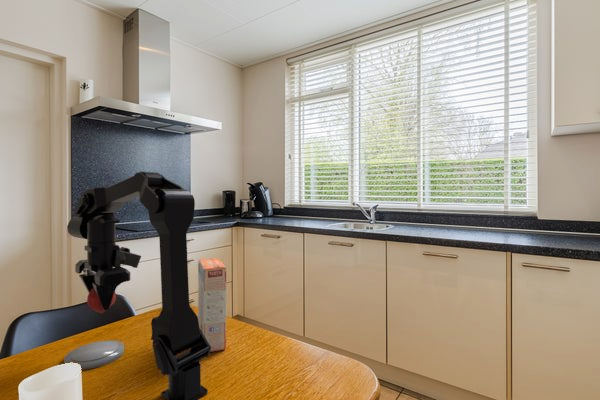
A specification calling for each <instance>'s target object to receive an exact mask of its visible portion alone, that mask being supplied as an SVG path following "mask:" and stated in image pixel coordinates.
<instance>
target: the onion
mask: <svg viewBox="0 0 600 400" xmlns="http://www.w3.org/2000/svg"><path fill="white" fill-rule="evenodd" d="M86 298H87V300H86V303H87V305H88V307H89V308H90V309H91V310H93V311H95V312H96V313H99V314H104V313H105V312H106V311H107V310H103V308H102V306H101V303H100V301H99V299H98V296H97V294H96V291H95V289H94V287H93V289H92V290H91V291H90V292H88V295H87V297H86ZM116 299H117V292H116V291H115V292H114V295H113V298H112V301H111V304H110V307H109V309H110V308H111V307H112V305H113V304H115V302H116Z"/></svg>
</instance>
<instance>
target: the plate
mask: <svg viewBox="0 0 600 400" xmlns="http://www.w3.org/2000/svg"><path fill="white" fill-rule="evenodd" d="M124 352H125V345H124V343H123V342H121V341H119V340H100V341H94V342H91V343H87V344H84V345H81V346H78V347H77V348H73V349H72V350H70V351H69V352H68V353H67V354H66V355H65V356H64V358H63V364H64V363H70V362H73V363H78V364H80V365H81V368H82V370H81V371H87V370H91V369H96V368H99V367H103V366H105V365H108V364H110V363H113V362H115V361H116V360H118V359H119V358H120V357H122V356H123V354H124Z"/></svg>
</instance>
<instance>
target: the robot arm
mask: <svg viewBox="0 0 600 400" xmlns="http://www.w3.org/2000/svg"><path fill="white" fill-rule="evenodd" d="M137 198H139V199H138V201H139V202H140V203H141V204H142V206H144V207H145V209H146V210H147V211H148V218H149V222H150V224H151V225H152V227H153V228H154V230H155V231H156V232H157V234H158V236H159V258H160V261H159V262H160V282H161V283H160V285H161V311H160V313H159V315H157V316H155V317H152V319H151V321H150V322H151V323H150V326H151V338H150V340H151V341H152V349H153V354H154V355H153V356H154V359H155V365H156V368H157V370H159V371H160V372H161V375H162V376H165V375H166V376H168V377H167V378H168V381H167V382H168V388H167V389H164V390H163V391H161V393H160V397H161V398H162V399H164V400H197V399H199V398H201V397H203V396H205V395H207V394H208V389H207V388H206V387H204V385H201V381H202V379H201V378H202V377H201V375H202V373H201V371H202V369H201V360H203V359H205V358H208V357H209V356H210V354H211V352H210V350H211V346H210V344H209V343H208V341H207V339H206V338H205V336H204V334H203V333H202V331H201V330H200V328H199V321H198V314H196V312H195V311H194V310H193V308H192V306H191V304H190V293H189V292H190V290H189V289H190V288H189V266H188V263H189V262H188V261H189V260H188V242H187V241H188V240H187V238H188V237H187V233H188V231H189V228H190V227H191V225H192V223H193V221H194V219H195V218H194V217H195V208H196V207H195V205H196V202H195V197H194V195H193V194H192V193H191V192H190V191H188V190H187V189H185V188H184V187H183V186H181V185H179V184H177V183H175V182H173V181H172V180H169V179H167V178H166V177H165V176H164V175H162V174H161V173H159V172H154V171H144V170H143V171H139V172H136V173H135V174H134V175H132V176H130V177H128V178H125V179H123V180H121V181H118V182H117V183H114V184H111V185H109V186H103V187H90V188H86V189H85V190H84V192H83V193H82V194H81V196H80V199H79V201H78V203H77V205H76V207H75V208H74V210H73V211H74V215H73V217H72V218H71V219H70V220H69V222H68V223H67V225H66V230H67V232H68V234H69V235H70V236H72V237H74V238H77V239H82V240H87V241H86V242H87V245H84V251H86V253H87V254H86V256H87V258H86V259H80V260H79V261H78V262H76V263H75V265H74V266H75V267H74V268H75V273H76V274H79V275H78V276H79V278H80V279H81V282H82V283H83V285H84V287H85V288H86V291H87V292H88V293H89V292H90V291H91V290H92V289H93V287H94V289H95V291H96V294H97V296H98V299H99V301H100V303H101V306H102V308H103V310H106V311H107V310H109V309H110V308H111V307H110V304H111V301H112V298H113V295H114V292H115V293H116V290H117V288H118V287H119V285H121V284H123V283H126V282H129V281H131V271H130V270H129V269H127V268H125V267H123V266H121V265H124V266H129V267H131V268H136V269H137V268H138V266H139V265H140V261H141V258H142V255H140V254H137V253H133V252H131V250H130V248H128V247H123V246H119V244H116V241H117V240H116V233H117V232H116V224H118V223H120V222H121V220H120V218H119V217H118V216H116V215H115V213H117V212H118V211H119V210H121V209H122V208H123V207H124V204H125V203H126V202H130V201H132V200H134V199H137ZM109 307H110V308H109Z"/></svg>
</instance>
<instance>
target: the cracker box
mask: <svg viewBox="0 0 600 400" xmlns="http://www.w3.org/2000/svg"><path fill="white" fill-rule="evenodd" d="M197 262H198V263H197V267H198V268H197V269H198V270H197V271H198V274H197V276H198V286H197V287H198V289H197V291H198V293H197V296H198V297H197V298H198V300H197V301H198V302H197V305H198V306H197V307H198V308H197V310H198V311H197V313H198V314H197V316H198V321H199V328H200V330H201V331H202V333H203V334H204V336H205V338H206V339H207V341H208V343H209V344H210V346H211V350H210V353H212V352H218V351H224V350H227V267H226V266H225V265H224V263H223V262H222V261H221V260H220V259H219V258H218V257H213V258H212V257H211V258H199V259H198V261H197Z"/></svg>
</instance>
